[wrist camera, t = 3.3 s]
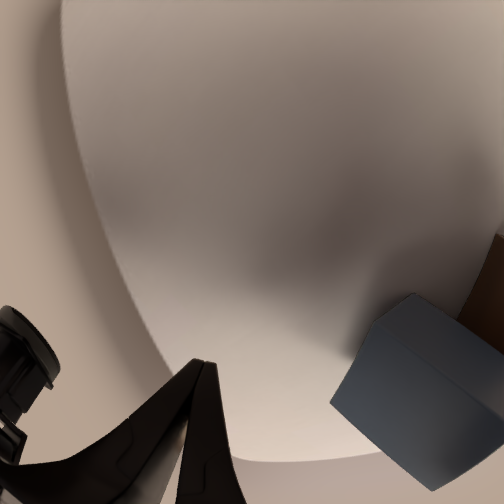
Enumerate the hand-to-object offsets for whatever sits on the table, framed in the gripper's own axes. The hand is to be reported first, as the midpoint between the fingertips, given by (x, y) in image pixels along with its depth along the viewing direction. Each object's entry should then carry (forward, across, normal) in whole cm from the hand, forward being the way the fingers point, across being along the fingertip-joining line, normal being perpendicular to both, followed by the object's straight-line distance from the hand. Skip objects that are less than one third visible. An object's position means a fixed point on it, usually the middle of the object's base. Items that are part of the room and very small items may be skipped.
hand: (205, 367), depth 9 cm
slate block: (-1, -9, 0) cm, 9 cm away
